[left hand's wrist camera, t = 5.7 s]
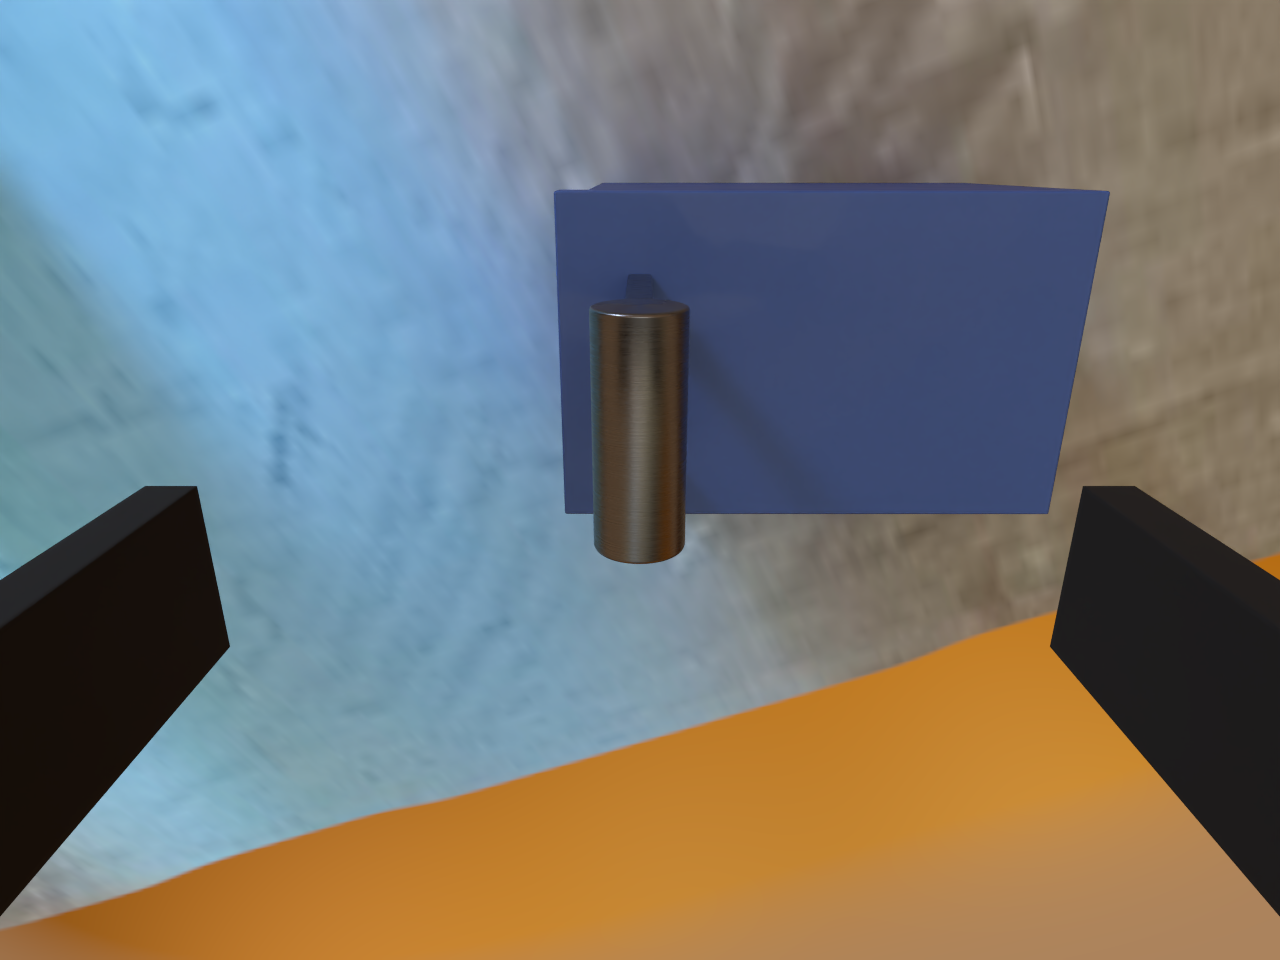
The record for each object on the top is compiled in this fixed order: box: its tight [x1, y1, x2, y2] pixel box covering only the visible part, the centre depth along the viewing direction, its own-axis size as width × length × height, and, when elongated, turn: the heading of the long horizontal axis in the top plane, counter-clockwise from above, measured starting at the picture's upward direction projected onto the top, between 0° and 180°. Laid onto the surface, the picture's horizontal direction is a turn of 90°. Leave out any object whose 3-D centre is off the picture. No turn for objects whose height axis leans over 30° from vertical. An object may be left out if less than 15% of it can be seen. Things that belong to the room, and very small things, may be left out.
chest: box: [589, 183, 1078, 190], centre depth 31 cm, size 15×10×10 cm, turn 90°
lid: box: [554, 190, 1110, 564], centre depth 22 cm, size 16×10×9 cm, turn 90°
